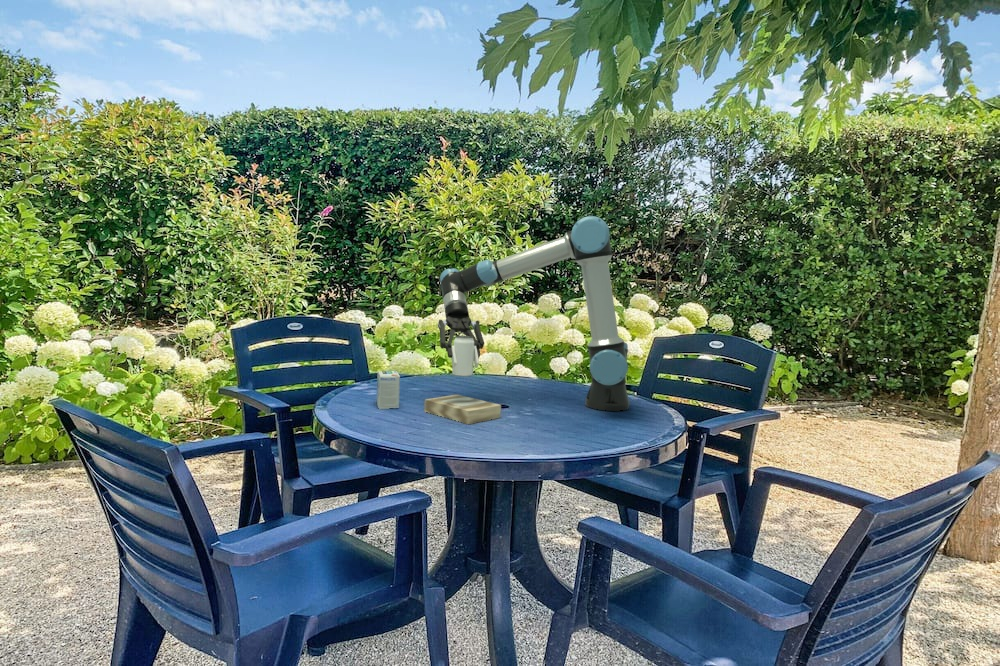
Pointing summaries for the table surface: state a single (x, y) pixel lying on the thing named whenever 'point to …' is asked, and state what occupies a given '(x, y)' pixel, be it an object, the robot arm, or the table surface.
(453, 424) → the table surface
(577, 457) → the table surface
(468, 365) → the can
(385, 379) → the light bulb box
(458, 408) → the block
